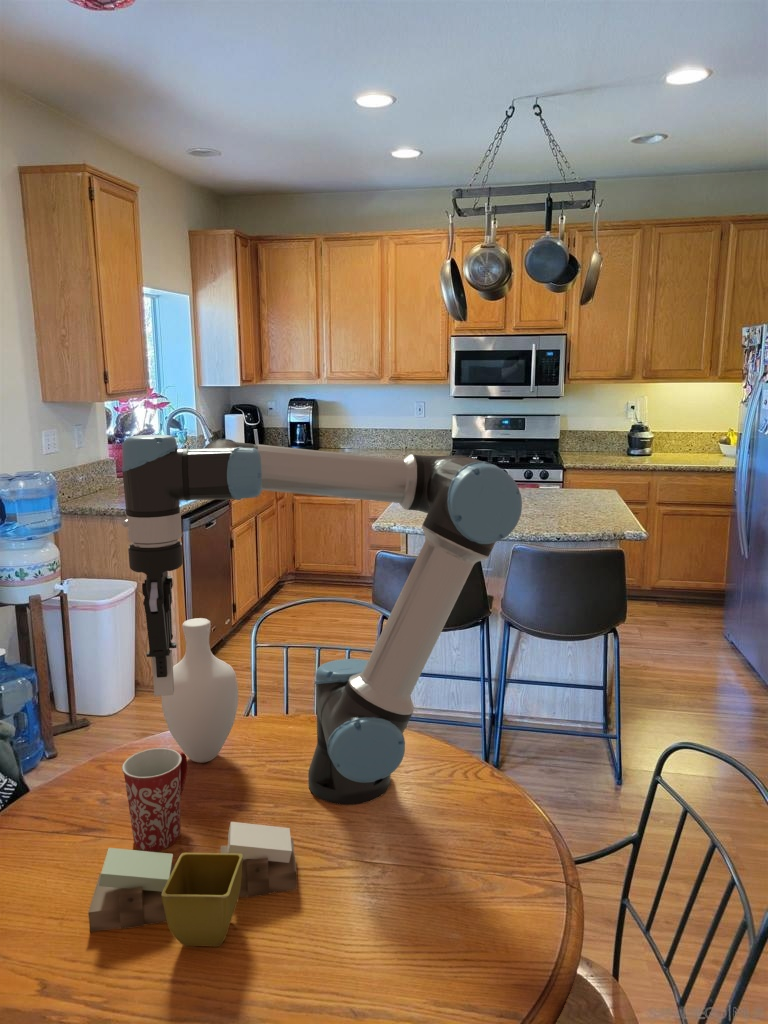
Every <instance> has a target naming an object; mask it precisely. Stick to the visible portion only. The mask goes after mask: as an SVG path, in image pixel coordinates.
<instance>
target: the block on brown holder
mask: <svg viewBox="0 0 768 1024" xmlns="http://www.w3.org/2000/svg"><path fill="white" fill-rule="evenodd" d="M291 848H292V852H291V857H290V861H289V863H286V862H276V861H268V858H262V859H245V858H243V863H242V876H241V887H240V893H239V898H245V897H248V898H252V897H260V896H268V895H270V894H275V893H284V892H285V893H286V892H291V891H292V892H293V891H298V881H297V878H298V875H297V864H296V855H295V854H296V853H295V844H294V838H293V837H291ZM219 853H228V844H227V845H221V846H220V852H219Z"/></svg>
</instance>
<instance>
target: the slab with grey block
mask: <svg viewBox="0 0 768 1024" xmlns="http://www.w3.org/2000/svg"><path fill="white" fill-rule="evenodd" d="M175 864H176V863H173V864H171V870H170V875H171V873H172V871H173V869H174V867H175ZM100 876H101V872H100V873H99V875H98V879H97V882H96V886H95V889H94V893H93V895H92V899H91V902H90V905H89V909H88V913H87V914H88V923H89V932H90V933H94V932H101V931H107V930H115V929H121V930H124V929H132V928H138V927H144V926H145V925H146V926H147V925H153V924H161V923H167V919H166V915H165V910H164V906H163V901H162V896H161V894H162V892H160V891H149V890H143V887H139V888H131V889H126V888H114V887H102V886H99V881H100Z"/></svg>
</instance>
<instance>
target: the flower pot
mask: <svg viewBox="0 0 768 1024" xmlns="http://www.w3.org/2000/svg"><path fill="white" fill-rule="evenodd" d="M242 863H243V855H242V854H239V853H220V852H219V853H218V852H215V853H214V852H213V853H212V852H208V853H207V852H182V853H181V854H180V855H179V857H178V858H177V861H176V863H174V864H175V867H174V869H173V871H172V873H171V875H170V877H169V879H168V881H167V883H166V885H165V887H164V889H163V892H162V894H161V896H162V901H163V906H164V910H165V915H166V919H167V922H166V923H167V927H168V928H169V929H168V930H169V931H170V932H171V934H172V935H173V936H174V938H175V939H176V940H177V941H178V942H179V943H181V945H182V946H185V947H188V946H189V947H219V946H221V945H222V944H223V942H224V941H225V938H226V936H227V934H228V931H229V927H230V925H231V921H232V918H233V915H234V913H235V911H236V910H235V909H236V907H237V904H238V900H239V898H240V897H239V893H240V887H241V876H242Z"/></svg>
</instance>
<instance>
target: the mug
mask: <svg viewBox="0 0 768 1024" xmlns="http://www.w3.org/2000/svg"><path fill="white" fill-rule="evenodd" d="M187 758H188V757H187V755H186V754H185V753H184V751H176V750H174V749H172V748H165V747H162V748H161V747H155V748H148V749H145V750H141V751H139V752H136V753H134V754H132V755H130V756H129V757H127V759H126V760H125V761H124V762H123V764H122V767H121V770H122V773H123V775H124V783H125V788H126V789H125V790H126V796H127V802H128V810H129V815H130V816H129V817H130V823H131V829H132V830H131V831H132V837H133V842H134V845H135V847H136V848H138V849H139V850H140V851H148V852H158V851H162V850H164V849H167V848H169V847H172V846H173V845H174V844H175V843H176V842H177V841H179V839H180V836H181V831H182V830H181V823H182V822H181V797H182V794H183V791H184V786H185V782H186V778H187V771H188V759H187Z"/></svg>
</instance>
